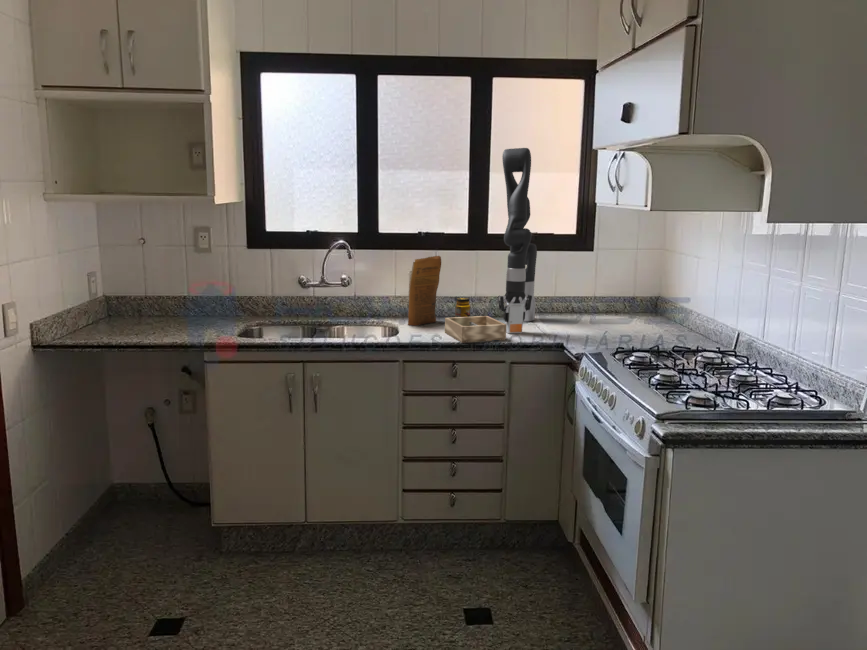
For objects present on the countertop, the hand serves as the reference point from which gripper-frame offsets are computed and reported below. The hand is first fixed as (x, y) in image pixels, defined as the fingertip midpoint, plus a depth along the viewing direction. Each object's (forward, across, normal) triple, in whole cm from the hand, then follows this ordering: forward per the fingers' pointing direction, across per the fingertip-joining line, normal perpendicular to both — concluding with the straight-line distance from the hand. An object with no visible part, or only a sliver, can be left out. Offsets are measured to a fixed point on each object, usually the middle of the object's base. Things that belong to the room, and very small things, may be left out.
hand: (514, 321), depth 287 cm
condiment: (+5, +17, -15) cm, 23 cm away
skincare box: (+5, 0, 0) cm, 5 cm away
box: (+5, +18, +3) cm, 19 cm away
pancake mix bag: (+5, +29, -26) cm, 39 cm away
